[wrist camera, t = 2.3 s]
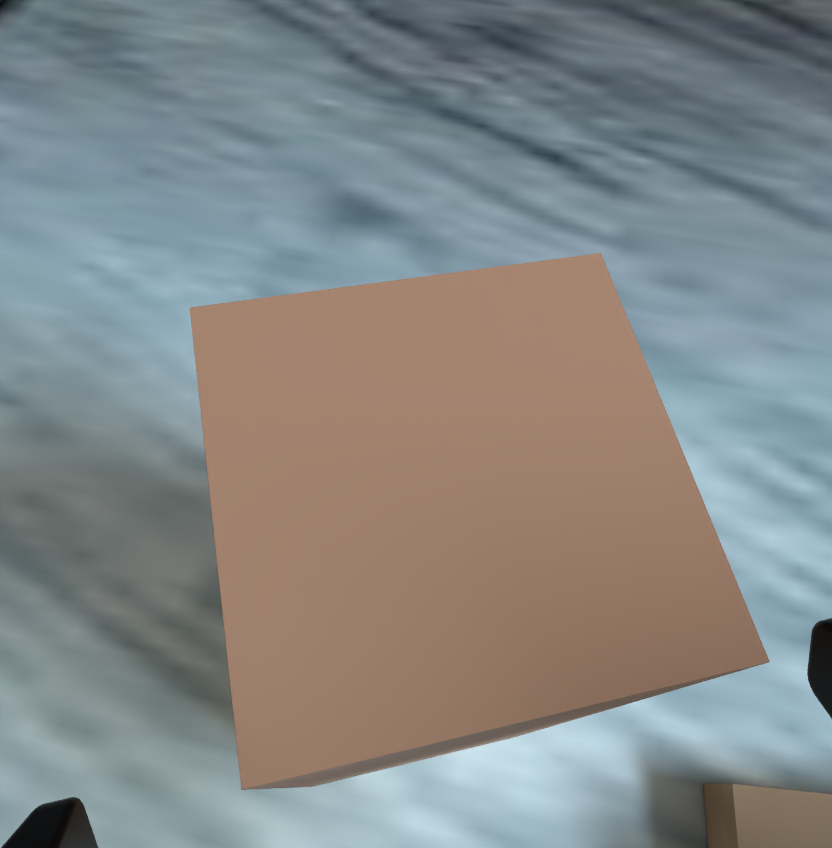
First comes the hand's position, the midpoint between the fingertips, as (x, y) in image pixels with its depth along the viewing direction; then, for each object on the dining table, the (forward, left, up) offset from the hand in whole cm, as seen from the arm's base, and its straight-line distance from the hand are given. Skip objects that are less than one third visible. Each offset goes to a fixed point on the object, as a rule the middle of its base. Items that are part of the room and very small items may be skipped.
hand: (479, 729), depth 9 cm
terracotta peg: (+2, +1, -10) cm, 10 cm away
